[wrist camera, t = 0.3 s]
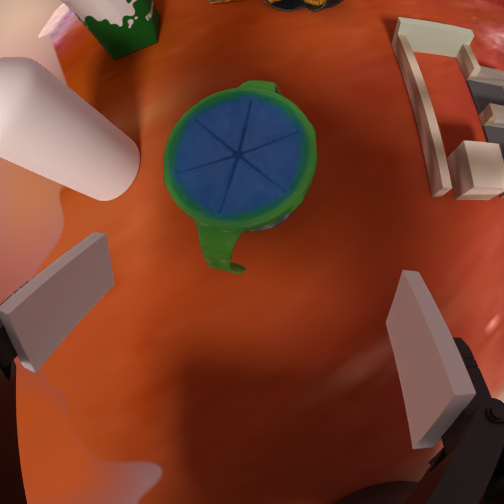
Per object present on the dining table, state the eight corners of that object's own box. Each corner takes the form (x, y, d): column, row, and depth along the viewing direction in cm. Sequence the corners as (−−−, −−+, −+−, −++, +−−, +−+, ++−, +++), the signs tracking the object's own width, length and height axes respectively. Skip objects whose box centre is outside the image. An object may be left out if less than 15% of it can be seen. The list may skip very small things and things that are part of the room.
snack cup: (284, 291, 28) (271, 293, 18) (181, 253, 30) (126, 237, 20) (335, 138, 29) (343, 77, 19) (237, 114, 31) (210, 53, 21)
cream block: (487, 200, 26) (509, 188, 21) (454, 199, 26) (474, 186, 22) (479, 160, 26) (498, 144, 22) (446, 158, 27) (463, 140, 23)
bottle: (80, 202, 34) (-139, 110, 4) (94, 140, 34) (-88, 16, 5) (134, 201, 32) (-125, 66, 3) (147, 134, 33) (-46, -41, 4)
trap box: (537, 199, 24) (561, 187, 19) (431, 197, 27) (451, 181, 22) (490, 60, 27) (504, 39, 22) (391, 44, 29) (398, 17, 24)
